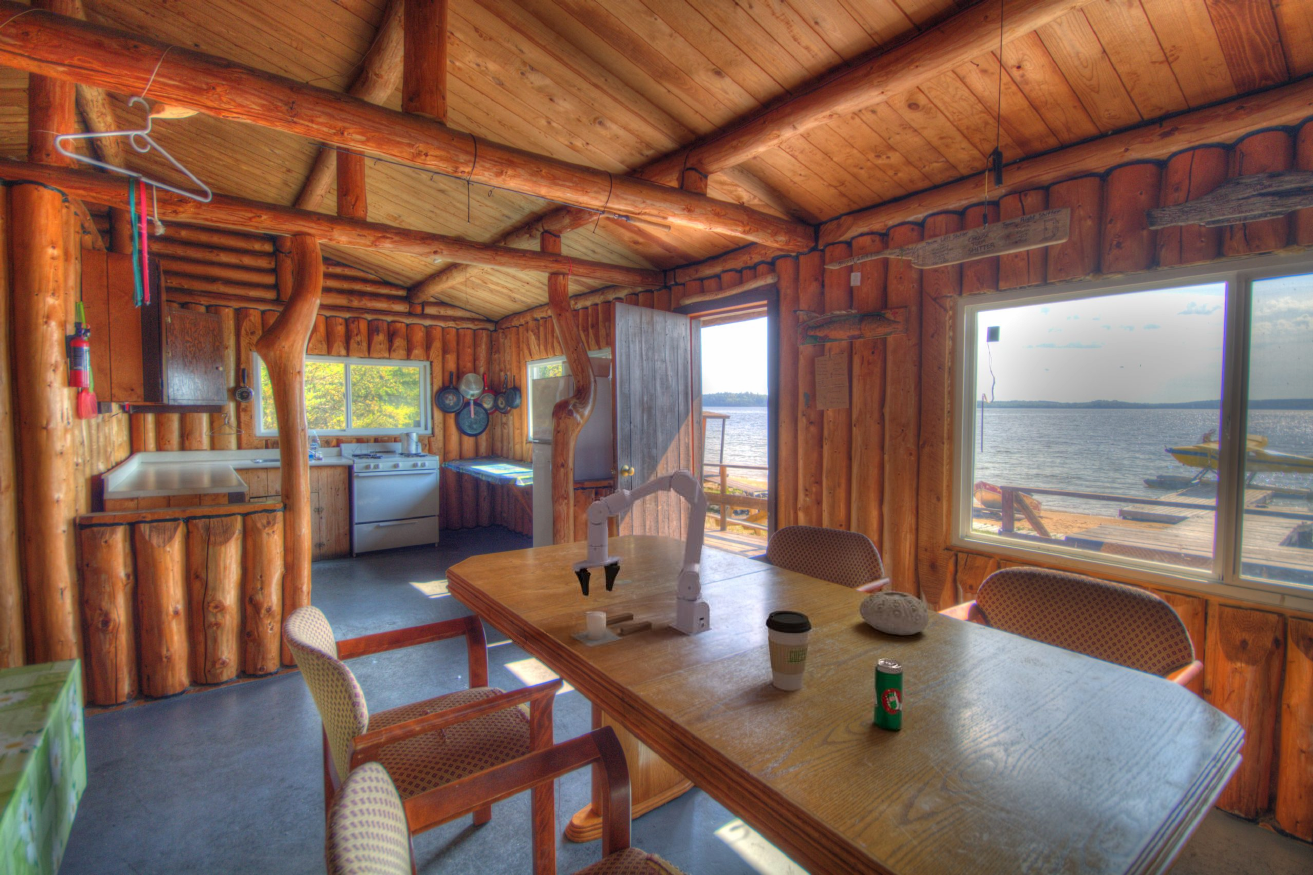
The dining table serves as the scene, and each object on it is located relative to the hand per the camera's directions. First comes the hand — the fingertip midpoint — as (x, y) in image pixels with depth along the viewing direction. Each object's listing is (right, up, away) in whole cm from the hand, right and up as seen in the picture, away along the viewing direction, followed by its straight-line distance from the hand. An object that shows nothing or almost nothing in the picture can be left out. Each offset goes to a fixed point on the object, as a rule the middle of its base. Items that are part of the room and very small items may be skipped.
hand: (597, 592), depth 166 cm
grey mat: (+1, -10, -9) cm, 13 cm away
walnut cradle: (+8, -10, -1) cm, 13 cm away
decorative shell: (+83, -10, 0) cm, 83 cm away
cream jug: (0, -9, -8) cm, 12 cm away
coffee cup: (+45, -11, -36) cm, 59 cm away
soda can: (+61, -12, -53) cm, 81 cm away
